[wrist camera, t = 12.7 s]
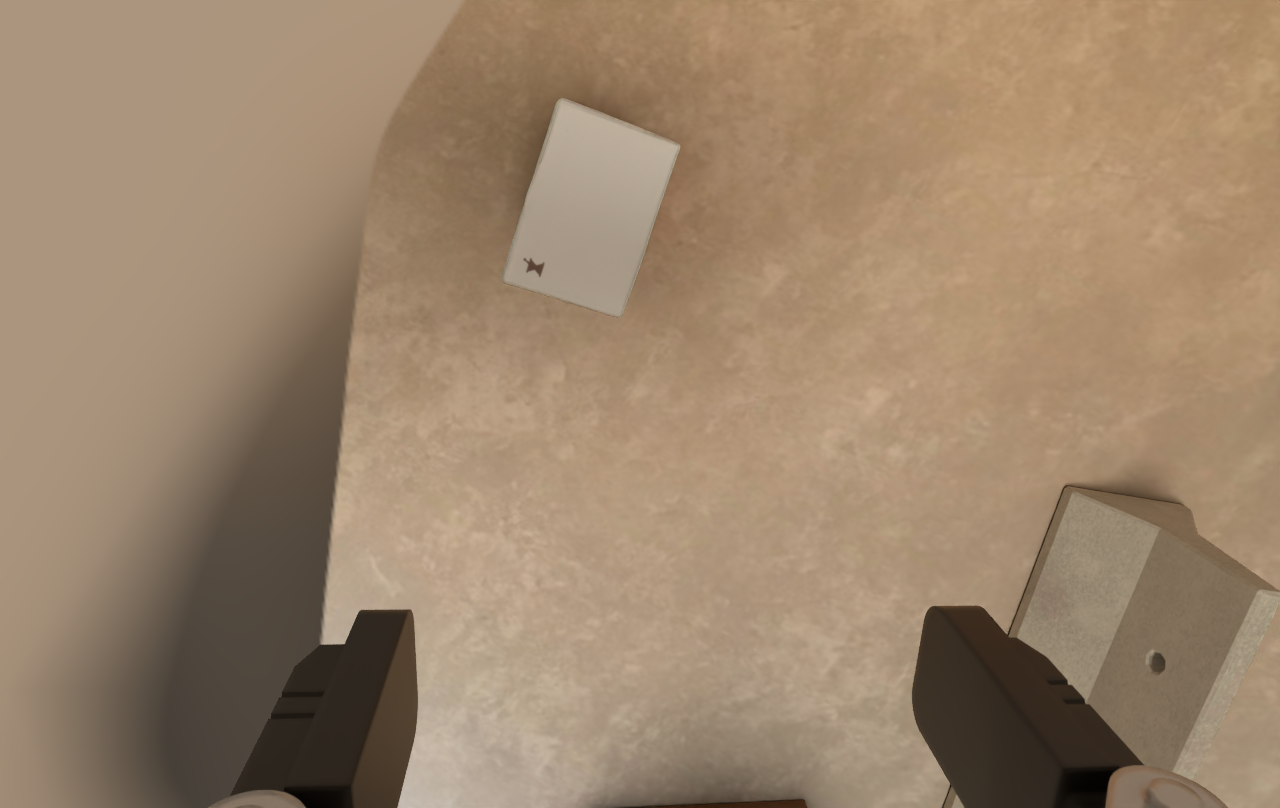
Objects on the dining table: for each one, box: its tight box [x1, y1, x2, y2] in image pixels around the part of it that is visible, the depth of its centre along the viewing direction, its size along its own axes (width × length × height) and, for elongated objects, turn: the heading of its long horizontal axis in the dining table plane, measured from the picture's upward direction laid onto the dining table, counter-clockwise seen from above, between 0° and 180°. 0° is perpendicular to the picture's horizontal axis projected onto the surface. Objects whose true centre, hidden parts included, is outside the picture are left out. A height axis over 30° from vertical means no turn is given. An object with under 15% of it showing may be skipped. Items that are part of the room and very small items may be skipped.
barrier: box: [943, 486, 1280, 808], centre depth 44 cm, size 28×7×10 cm, turn 169°
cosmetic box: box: [502, 98, 680, 318], centre depth 32 cm, size 6×4×12 cm
